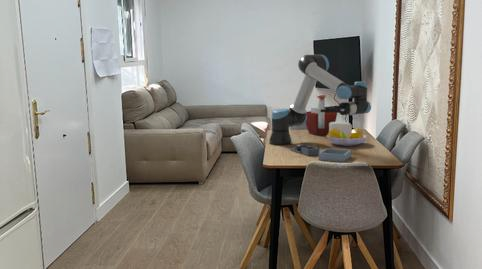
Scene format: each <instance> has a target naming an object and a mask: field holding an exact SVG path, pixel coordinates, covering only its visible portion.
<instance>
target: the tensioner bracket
mask: <svg viewBox="0 0 482 269" xmlns="http://www.w3.org/2000/svg"><path fill="white" fill-rule="evenodd" d="M320 150H321V149H320V148H319V147H316V146H314V145H312V146H311V145H310V146H309V145H308V144H305V143H298V144H295V147H290V151H291V152H293V153H297V154H300V155H304V156H305V157H306V156H307V157H313V156H319V152H320Z"/></svg>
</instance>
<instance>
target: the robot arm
mask: <svg viewBox="0 0 482 269" xmlns="http://www.w3.org/2000/svg"><path fill="white" fill-rule="evenodd" d="M297 63H298V69H299V70H300V72H301V73H302V74H304V78H303V80H302V82H301V85H300V87H299V89H298V92H297V95H296V97H295V99H294V103H293V104H291V105H290V106H289V108H286V107H285V108H283V107H282V108H277V109H274V110H273V111H272V112H271V134H270V137H269V144H270V145H274V146H288V145H291V144H292V142H293V141H292V137H291V134H290V128H292V127H300V126H302V125H304V124H306V123H305V122H306V120H307V116H306V115H307V113H306V112H307V109H306V107H307V105H308V104H309V103H308V102H309V100H310V98H311V96H312V94H313V91H314V88H315V86H316V84H317V82H318V83H321V84H322V85H324V86H325V87H327V88H329V89H330V90H331V91H333V92H335V93H336V95H337V98H339V99H342V100H348V99H353V101H347V102H346V101H345V102H344V101H343V102H340V103H339V105H330V106H325V108H318V107H311V108H310V111H311V113H325V112H326V113H337V114H340V116H347V115H350V116H352V115H363V114H369V113H370V111H371V110H372V104H371V102H369V101H368V83H367V81H355V82H354V84H353V85H349V84H347V83H345V82H344V81H343V80H341V79H339V78H338V77H337V76H334V75H333V74H331V73H329V72H328V70H329V67H330V61H329V58H327V56H326V55H323V54H319V53H318V54H305V55H303V56H301V57H300V59H299V60H298V62H297Z"/></svg>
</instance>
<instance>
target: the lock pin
mask: <svg viewBox="0 0 482 269" xmlns="http://www.w3.org/2000/svg"><path fill="white" fill-rule="evenodd" d="M316 97H317V100H318V101H317V104H318V106H317V108H325V107H326V106H325V102H326V101H325V98H326V97H327V96H326V94H317V95H316ZM318 128H320V129H322V128H324V113H318Z"/></svg>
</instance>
